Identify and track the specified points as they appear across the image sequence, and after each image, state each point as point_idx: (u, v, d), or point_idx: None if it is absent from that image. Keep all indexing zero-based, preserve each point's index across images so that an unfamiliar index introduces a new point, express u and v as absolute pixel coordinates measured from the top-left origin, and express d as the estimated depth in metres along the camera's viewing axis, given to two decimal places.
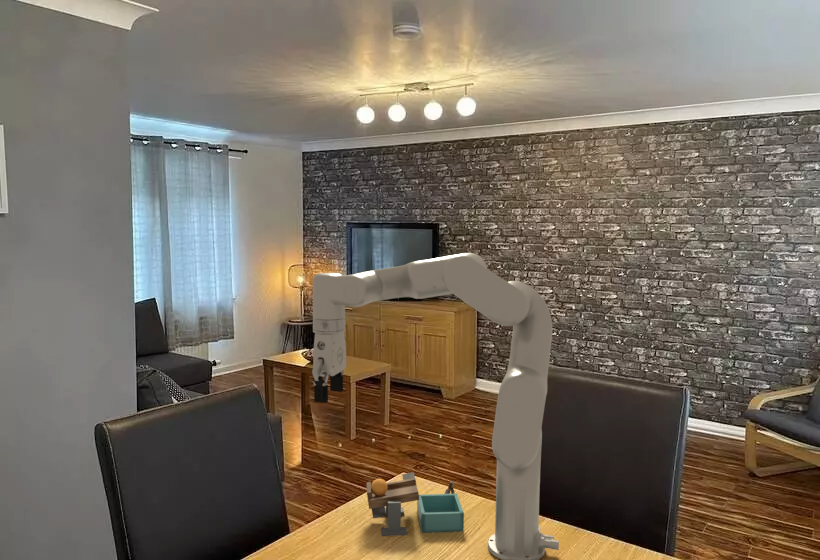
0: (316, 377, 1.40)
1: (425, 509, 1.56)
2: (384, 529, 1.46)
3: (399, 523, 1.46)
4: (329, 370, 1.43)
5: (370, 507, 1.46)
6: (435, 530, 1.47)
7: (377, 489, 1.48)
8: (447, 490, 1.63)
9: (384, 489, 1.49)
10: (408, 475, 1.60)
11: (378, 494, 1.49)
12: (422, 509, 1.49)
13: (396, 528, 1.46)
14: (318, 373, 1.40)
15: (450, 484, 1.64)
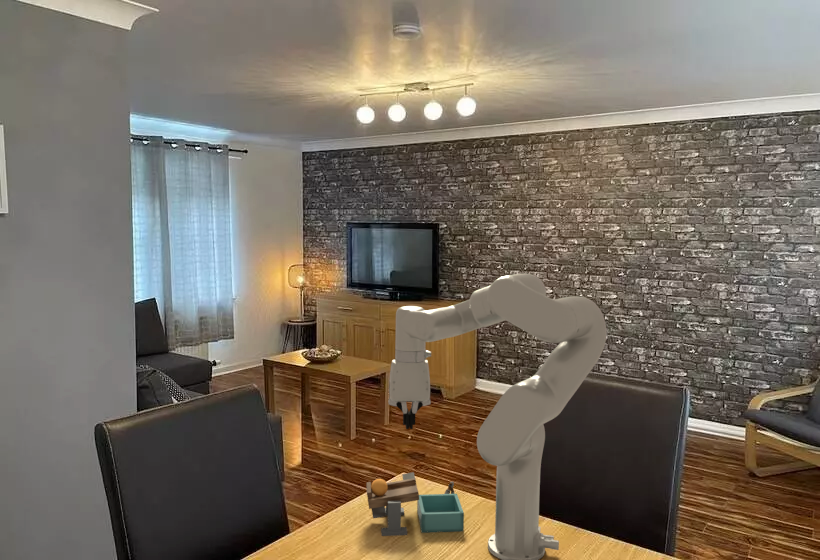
0: None
1: (425, 509, 1.56)
2: (384, 529, 1.46)
3: (399, 523, 1.46)
4: None
5: (370, 507, 1.46)
6: (435, 530, 1.47)
7: (377, 489, 1.48)
8: (447, 490, 1.63)
9: (384, 489, 1.49)
10: (408, 475, 1.60)
11: (378, 494, 1.49)
12: (422, 509, 1.49)
13: (396, 528, 1.46)
14: None
15: (450, 484, 1.64)
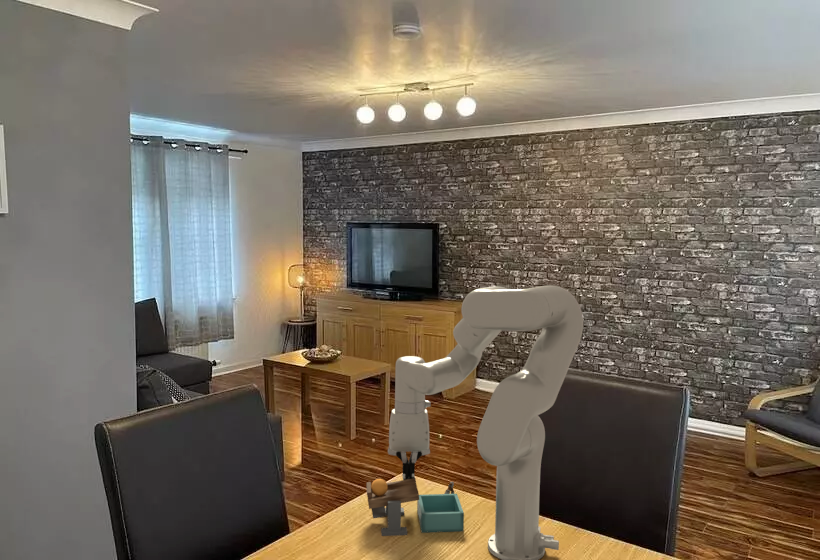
0: None
1: (425, 509, 1.56)
2: (384, 529, 1.46)
3: (399, 523, 1.46)
4: None
5: (370, 507, 1.46)
6: (435, 530, 1.47)
7: (377, 489, 1.48)
8: (447, 490, 1.63)
9: (384, 489, 1.49)
10: None
11: (378, 494, 1.49)
12: (422, 509, 1.49)
13: (396, 528, 1.46)
14: None
15: (450, 484, 1.64)
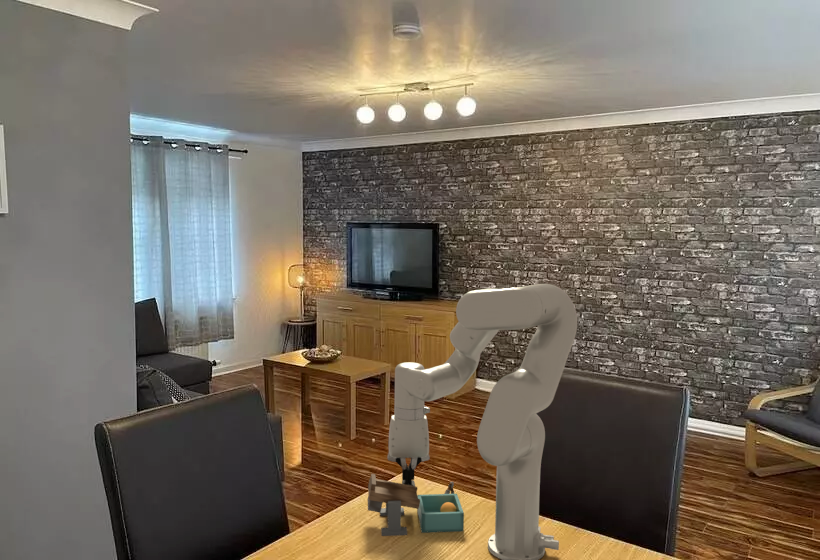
0: None
1: (425, 509, 1.56)
2: (384, 529, 1.46)
3: (399, 523, 1.46)
4: None
5: (370, 498, 1.46)
6: (435, 530, 1.47)
7: None
8: (447, 490, 1.63)
9: None
10: None
11: (447, 510, 1.50)
12: (422, 509, 1.49)
13: (396, 528, 1.46)
14: None
15: (450, 484, 1.64)
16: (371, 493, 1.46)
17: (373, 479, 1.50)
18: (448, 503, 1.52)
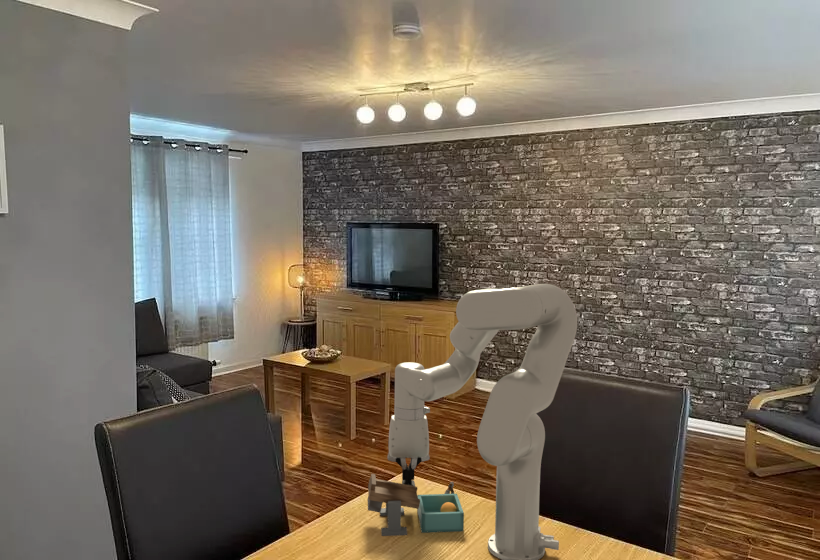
0: None
1: (425, 509, 1.56)
2: (384, 529, 1.46)
3: (399, 523, 1.46)
4: None
5: (370, 498, 1.46)
6: (435, 530, 1.47)
7: None
8: (447, 491, 1.63)
9: None
10: None
11: (448, 510, 1.50)
12: (422, 509, 1.49)
13: (396, 528, 1.46)
14: None
15: (450, 485, 1.64)
16: (371, 493, 1.46)
17: (373, 479, 1.50)
18: (448, 503, 1.52)
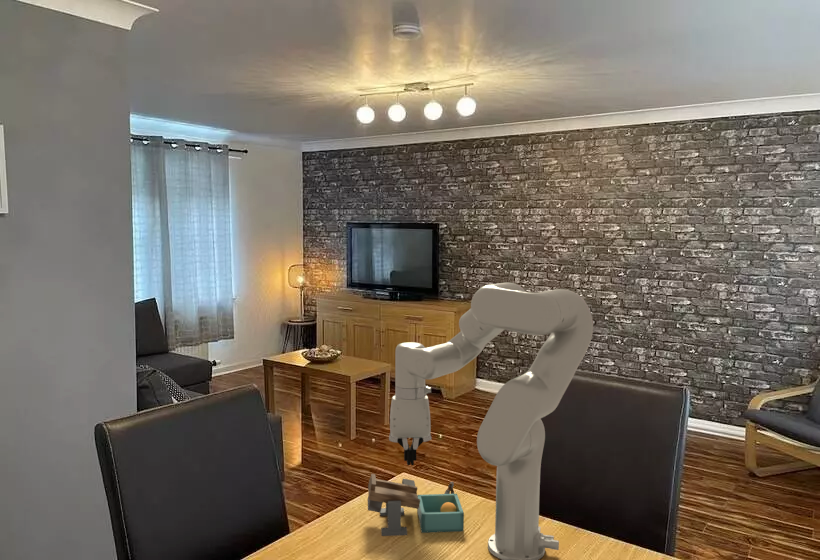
0: None
1: (425, 509, 1.56)
2: (384, 529, 1.46)
3: (399, 523, 1.46)
4: None
5: (370, 498, 1.46)
6: (435, 530, 1.47)
7: None
8: (447, 491, 1.63)
9: None
10: (408, 481, 1.60)
11: (448, 510, 1.50)
12: (422, 509, 1.49)
13: (396, 528, 1.46)
14: None
15: (450, 485, 1.64)
16: (371, 493, 1.46)
17: (373, 479, 1.50)
18: (448, 503, 1.52)
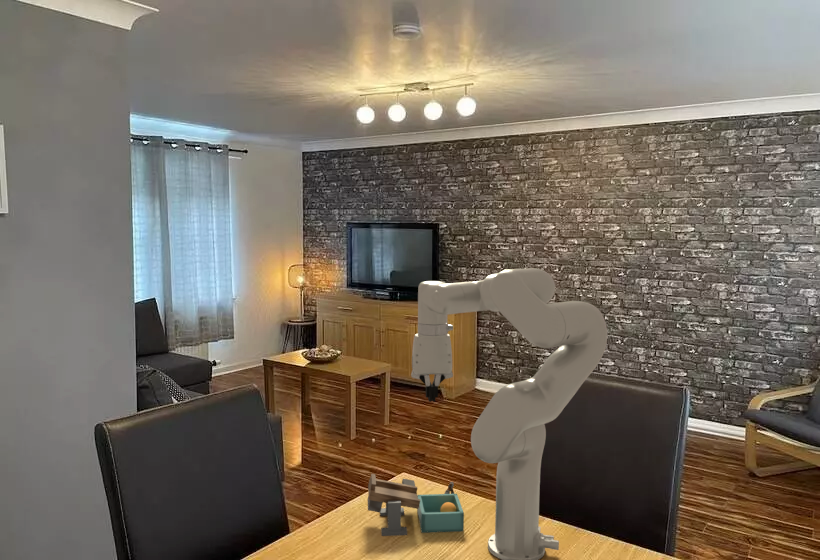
0: None
1: (425, 509, 1.56)
2: (384, 529, 1.46)
3: (399, 523, 1.46)
4: None
5: (370, 498, 1.46)
6: (435, 530, 1.47)
7: None
8: (447, 491, 1.62)
9: None
10: (408, 481, 1.60)
11: (448, 510, 1.50)
12: (422, 509, 1.49)
13: (396, 528, 1.46)
14: None
15: (450, 485, 1.64)
16: (371, 493, 1.46)
17: (373, 479, 1.50)
18: (448, 503, 1.52)
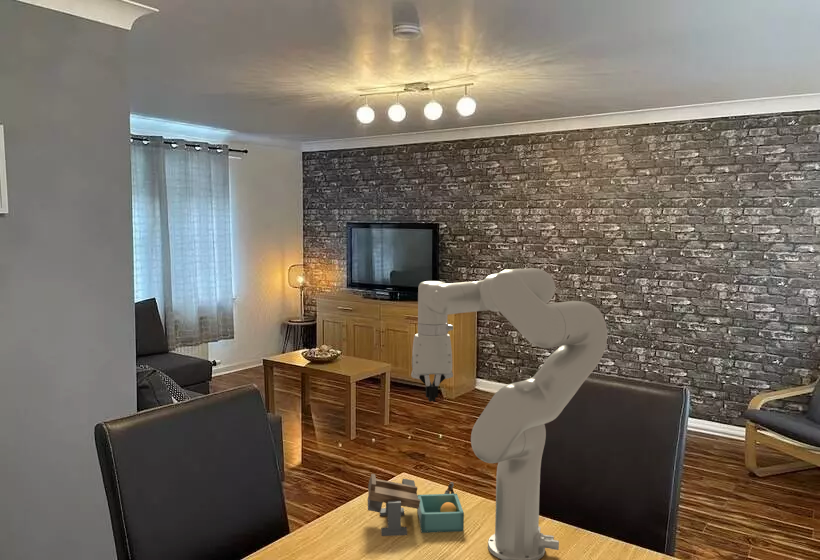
0: None
1: (425, 509, 1.56)
2: (384, 529, 1.46)
3: (399, 523, 1.46)
4: None
5: (370, 498, 1.46)
6: (435, 530, 1.47)
7: None
8: (447, 491, 1.62)
9: None
10: (408, 481, 1.60)
11: (447, 510, 1.50)
12: (422, 509, 1.49)
13: (396, 528, 1.46)
14: None
15: (450, 485, 1.64)
16: (371, 493, 1.46)
17: (373, 479, 1.50)
18: (448, 503, 1.52)
